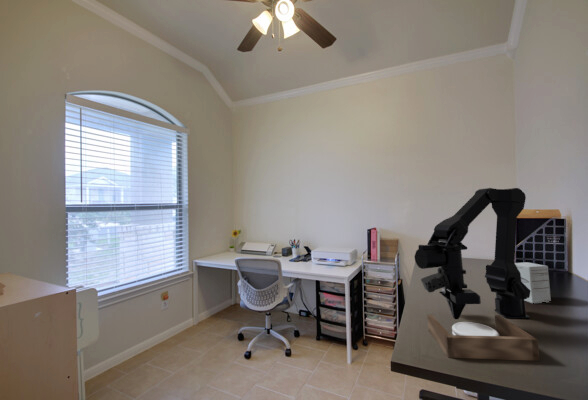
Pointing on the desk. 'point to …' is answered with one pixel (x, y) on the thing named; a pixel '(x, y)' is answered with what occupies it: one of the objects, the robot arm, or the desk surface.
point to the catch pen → (487, 342)
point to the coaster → (473, 329)
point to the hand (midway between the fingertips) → (455, 318)
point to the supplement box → (535, 281)
